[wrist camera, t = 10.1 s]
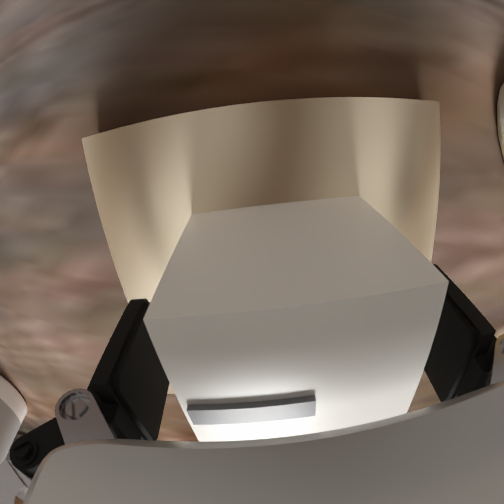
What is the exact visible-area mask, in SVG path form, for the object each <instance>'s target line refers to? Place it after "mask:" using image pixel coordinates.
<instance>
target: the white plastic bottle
mask: <svg viewBox="0 0 504 504" xmlns="http://www.w3.org/2000/svg"><path fill="white" fill-rule="evenodd" d="M26 413H27V405H26V402H25V401H24V399H23V397H22V396H21V395H20V394H19V392H18V391H17V390H16V389H15V388H14V387H13V386H12V385H11V384H10V383H9V382H8V381H7V380H6V379H4V378H3V377H2V376H1V375H0V464H1V463H2V462H3V461H4V460H5V458H6V456H7V453H8V451H9V449H10V447H11V444H12V442H13V440H14V438H15V436H16V434H17V431H18V429H19V427H20V425H21V423H22V421H23V419H24V417H25V415H26Z"/></svg>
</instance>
